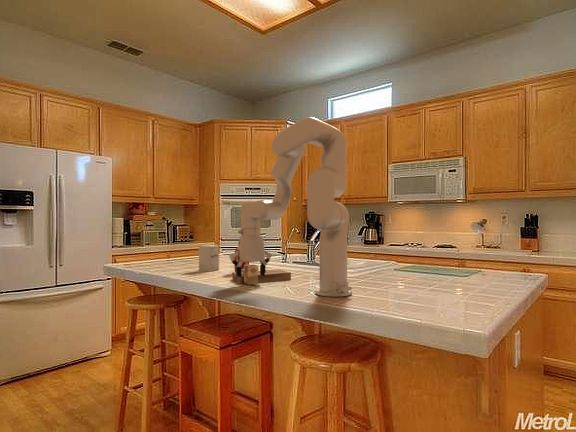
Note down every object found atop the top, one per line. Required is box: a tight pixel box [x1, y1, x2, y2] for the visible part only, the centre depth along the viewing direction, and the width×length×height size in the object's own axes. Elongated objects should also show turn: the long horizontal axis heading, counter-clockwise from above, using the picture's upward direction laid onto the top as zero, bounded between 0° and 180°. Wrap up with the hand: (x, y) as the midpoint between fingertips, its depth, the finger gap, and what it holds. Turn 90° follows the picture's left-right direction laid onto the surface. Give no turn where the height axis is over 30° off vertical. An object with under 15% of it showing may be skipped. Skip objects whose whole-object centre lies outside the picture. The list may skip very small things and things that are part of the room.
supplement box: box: [198, 244, 220, 273], centre depth 187 cm, size 7×7×13 cm
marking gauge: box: [242, 264, 259, 286], centre depth 149 cm, size 14×4×7 cm, turn 26°
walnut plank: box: [231, 268, 292, 285], centre depth 158 cm, size 12×22×3 cm, turn 116°
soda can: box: [233, 247, 250, 272], centre depth 178 cm, size 7×7×12 cm
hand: (251, 276), depth 146 cm, fingers open, 9 cm apart
